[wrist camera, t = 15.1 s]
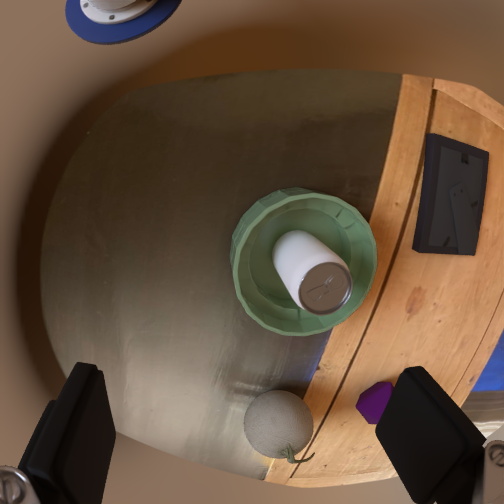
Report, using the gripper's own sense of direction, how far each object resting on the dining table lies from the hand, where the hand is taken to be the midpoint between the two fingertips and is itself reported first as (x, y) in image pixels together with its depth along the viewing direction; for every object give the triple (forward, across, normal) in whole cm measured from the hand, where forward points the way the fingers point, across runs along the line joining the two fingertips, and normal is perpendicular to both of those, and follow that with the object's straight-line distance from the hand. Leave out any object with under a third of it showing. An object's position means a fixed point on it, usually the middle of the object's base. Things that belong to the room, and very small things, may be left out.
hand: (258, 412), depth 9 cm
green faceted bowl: (+32, -10, +4) cm, 34 cm away
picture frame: (+32, -35, -7) cm, 48 cm away
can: (+32, -10, +4) cm, 34 cm away
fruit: (+32, -11, +30) cm, 46 cm away
